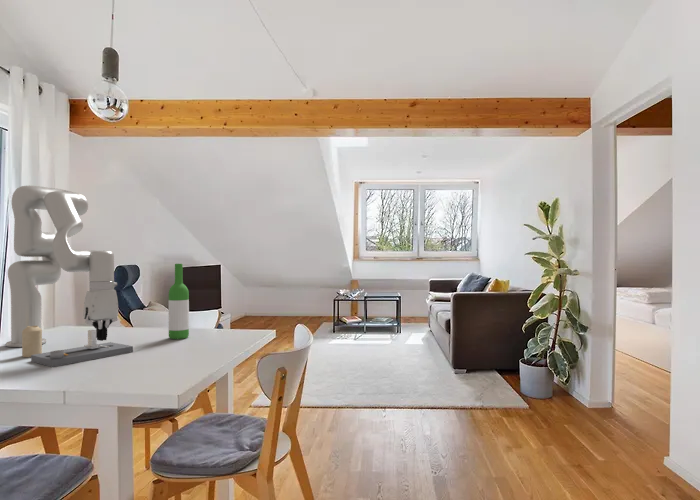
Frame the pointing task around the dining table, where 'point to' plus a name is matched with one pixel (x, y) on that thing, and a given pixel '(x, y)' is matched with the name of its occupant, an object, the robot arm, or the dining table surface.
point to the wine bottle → (178, 307)
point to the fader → (91, 340)
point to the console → (80, 354)
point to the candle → (31, 341)
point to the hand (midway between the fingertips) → (101, 339)
